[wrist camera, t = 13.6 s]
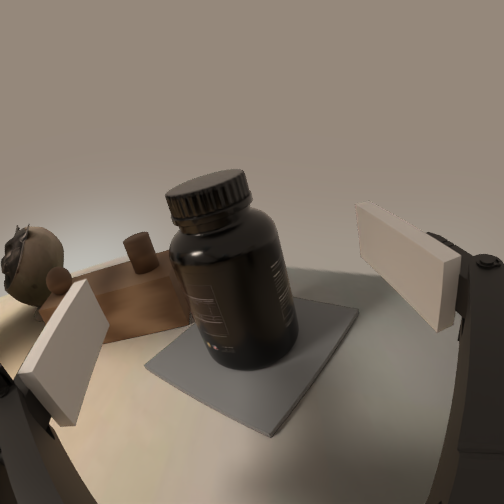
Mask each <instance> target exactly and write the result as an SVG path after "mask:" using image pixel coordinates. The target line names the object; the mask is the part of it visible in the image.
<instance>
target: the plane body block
mask: <svg viewBox="0 0 504 504" xmlns="http://www.w3.org/2000/svg"><path fill="white" fill-rule="evenodd" d="M123 244H124V246H125V249H126V251H127V254H128V256H129V259H130V261H128V262H125V263H121V264H118V265H115V266H111V267H108V268H104V269H101V270H98V271H94V272H91V273H88V274H84V275H81V276H78V277H74V278H72V277H71V274H70V273H69V271H68V270H67V269H65V268H63V267H54V268H52V269H51V270H50V271H49V272H48V274H47V277H46V284H47V287H48V289H49V290H50V291H51V292H52V293H51V294H50V296H49V297H48V298H47V300H46V301H45V302H44V304H43V305H42V307H41V308H40V309H39V313H40V315H41V317H42V318H43V320H44V322H45V324H47V323H48V321H49V320H50V318H51V316H52V315H53V313H54V312H55V310H56V309H57V307H58V306H59V304H60V303H61V301H62V300H63V298H64V297H65V295H66V294H67V292H68V291H69V289H70V288H71V286H72V285H73V283H74V282H78V281H81V280H84V279H87V281H88V283H89V285H90V287H91V289H92V291H93V293H94V295H95V297H96V299H97V301H98V303H99V305H100V307H101V309H102V311H103V313H104V315H105V317H106V319H107V321H108V323H109V328H108V331H107V333H106V336H105V339H104V341H103V344H104V343H109V342H114V341H119V340H123V339H128V338H133V337H137V336H142V335H146V334H151V333H155V332H160V331H164V330H168V329H173V328H177V327H181V326H185V325H189V315H190V309H189V306H188V304H187V302H186V299H185V297H184V294H183V292H182V290H181V287H180V285H179V282H178V280H177V277H176V275H175V272H174V270H173V267H172V264H171V261H170V258H169V250H167V251H163V252H160V253H155V250H154V248H153V245H152V243H151V240H150V237H149V234H148V232H141V233H137V234H134V235H132V236H130V237H128V238H127V239H125V240H124V241H123Z"/></svg>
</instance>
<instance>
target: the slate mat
mask: <svg viewBox="0 0 504 504" xmlns="http://www.w3.org/2000/svg"><path fill="white" fill-rule="evenodd" d="M293 301H294V305H295V310H296V315H297V320H298V325H299V333H298V337H297V340H296V342H295V344H294V346H293V347H292V349H291V350H290V351H289V352H288V353H287V354H286V355H285V356H284V357H283V358H281V359H280V360H278V361H277V362H275V363H273V364H271V365H269V366H266V367H263V368H260V369H256V370H248V371H239V370H232V369H229V368H226V367H224V366H222V365H220V364H218V363H217V362H216V361H215V360H214V359H213V358H212V357H211V355H210V354H209V352H208V350H207V347H206V345H205V343H204V341H203V339H202V337H201V334H200V332H199V330H198V327H197V325H196V323H195V324H193V325H192V326H191V327H190V328H189V329H187V330H186V331H185V332H184V333H182V334H181V335H180V336H179V337H178V338H176V339H175V340H174V341H173V342H172V343H170V344H169V345H168V346H167V347H166V348H164V349H163V350H162V351H161V352H159V353H158V354H157V355H156V356H155V357H153V358H152V359H151V360H150V361H148V362H147V363H146V364H145V365H144V366H145V368H146V369H147V370H149V371H150V372H152V373H153V374H155V375H156V376H158V377H159V378H161V379H163V380H164V381H166V382H167V383H169V384H171V385H172V386H174V387H176V388H177V389H179V390H181V391H182V392H184V393H186V394H187V395H189V396H191V397H193V398H194V399H196V400H198V401H200V402H201V403H203V404H205V405H207V406H209V407H210V408H212V409H214V410H216V411H218V412H220V413H222V414H223V415H225V416H227V417H229V418H231V419H233V420H235V421H237V422H239V423H241V424H243V425H245V426H247V427H249V428H251V429H253V430H255V431H257V432H259V433H262V434H264V435H266V436H268V437H270V438H271V437H272V435H273V434H274V433H275V432H276V430H277V429H278V428H279V427H280V425H281V424H282V423H283V422H284V420H285V419H286V418H287V416H288V415H289V414H290V413H291V411H292V410H293V409H294V407H295V406H296V405H297V403H298V402H299V401H300V399H301V398H302V397H303V395H304V394H305V393H306V391H307V390H308V388H309V387H310V386H311V384H312V383H313V381H314V380H315V379H316V377H317V376H318V374H319V373H320V372H321V370H322V369H323V367H324V366H325V364H326V363H327V361H328V360H329V359H330V357H331V356H332V354H333V353H334V351H335V350H336V348H337V347H338V345H339V344H340V342H341V340H342V339H343V337H344V336H345V334H346V333H347V331H348V330H349V328H350V326H351V325H352V323H353V322H354V320H355V318H356V317H357V315H358V314H359V309H355V308H350V307H344V306H338V305H333V304H327V303H322V302H317V301H311V300H306V299H301V298H296V297H293Z"/></svg>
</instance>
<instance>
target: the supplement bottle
mask: <svg viewBox="0 0 504 504" xmlns="http://www.w3.org/2000/svg"><path fill="white" fill-rule="evenodd" d="M165 197H166V200H167V203H168V206H169V209H170V211H171V219H172V222H173V224H174V225H176V226H179V229H180V230H179V231H178V232H177V233H176V235H175V236H174V237H173V239H172V241H171V244H170V249H169V258H170V261H171V264H172V267H173V270H174V272H175V275H176V277H177V280H178V282H179V285H180V287H181V290H182V292H183V294H184V297H185V299H186V302H187V304H188V306H189V309H190V311H191V314H192V316H193V318H194V321H195V323H196V325H197V327H198V330H199V332H200V334H201V337H202V339H203V341H204V343H205V345H206V347H207V350H208V352H209V354H210V355H211V357H212V358H213V359H214V360H215V361H216V362H217V363H218V364H220V365H222V366H224V367H226V368H229V369H232V370H239V371H248V370H256V369H260V368H263V367H266V366H269V365H271V364H273V363H275V362H277V361H278V360H280V359H281V358H283V357H284V356H285V355H286V354H287V353H288V352H289V351H290V350H291V349H292V347H293V346H294V344H295V342H296V340H297V337H298V333H299V325H298V320H297V315H296V310H295V305H294V301H293V296H292V292H291V287H290V283H289V279H288V274H287V270H286V266H285V261H284V257H283V253H282V249H281V245H280V240H279V236H278V232H277V229H276V226H275V223H274V221H273V220H272V219H271V218H270V217H269V216H268V215H267V214H266V213H265V212H263V211H261V210H258V209H255V208H252V207H250V203H251V202H252V200H253V198H252V194H251V191H250V190H249V188H248V183H247V180H246V176H245V173H244V171H243V170H241V169H231V170H224V171H219V172H214V173H211V174H207V175H204V176H200V177H197V178H194V179H192V180H189V181H187V182H184V183H182V184H180V185H178V186H176V187H174V188H172V189H171V190H169V191H168V192H167V193H166V194H165Z"/></svg>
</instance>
